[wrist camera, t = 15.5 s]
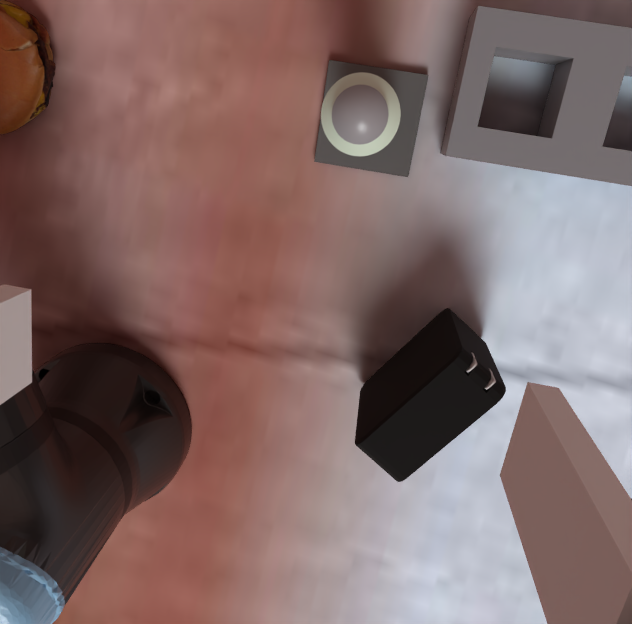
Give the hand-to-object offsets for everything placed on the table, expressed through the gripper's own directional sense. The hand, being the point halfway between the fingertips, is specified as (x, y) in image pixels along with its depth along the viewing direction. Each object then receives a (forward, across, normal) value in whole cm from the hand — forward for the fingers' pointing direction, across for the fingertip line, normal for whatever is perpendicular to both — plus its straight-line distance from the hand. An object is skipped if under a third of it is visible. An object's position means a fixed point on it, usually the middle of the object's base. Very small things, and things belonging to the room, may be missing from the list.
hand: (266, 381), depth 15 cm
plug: (+30, 0, +7) cm, 31 cm away
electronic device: (+31, +8, -11) cm, 34 cm away
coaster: (+31, 0, +7) cm, 31 cm away
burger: (+31, -28, +7) cm, 42 cm away
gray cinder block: (+31, +14, +10) cm, 35 cm away
